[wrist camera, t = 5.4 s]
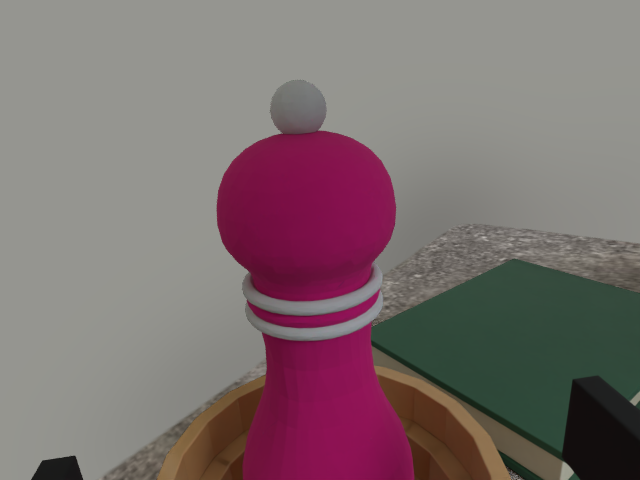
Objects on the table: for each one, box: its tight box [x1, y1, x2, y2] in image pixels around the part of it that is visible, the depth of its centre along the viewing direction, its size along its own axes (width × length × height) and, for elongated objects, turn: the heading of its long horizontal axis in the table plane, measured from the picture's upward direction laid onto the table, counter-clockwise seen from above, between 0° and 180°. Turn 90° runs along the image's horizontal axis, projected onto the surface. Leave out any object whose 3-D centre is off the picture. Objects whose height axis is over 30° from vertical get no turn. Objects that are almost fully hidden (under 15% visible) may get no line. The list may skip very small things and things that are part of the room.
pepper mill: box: [217, 80, 414, 480], centre depth 17 cm, size 7×7×20 cm
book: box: [371, 259, 640, 480], centre depth 32 cm, size 20×15×3 cm
